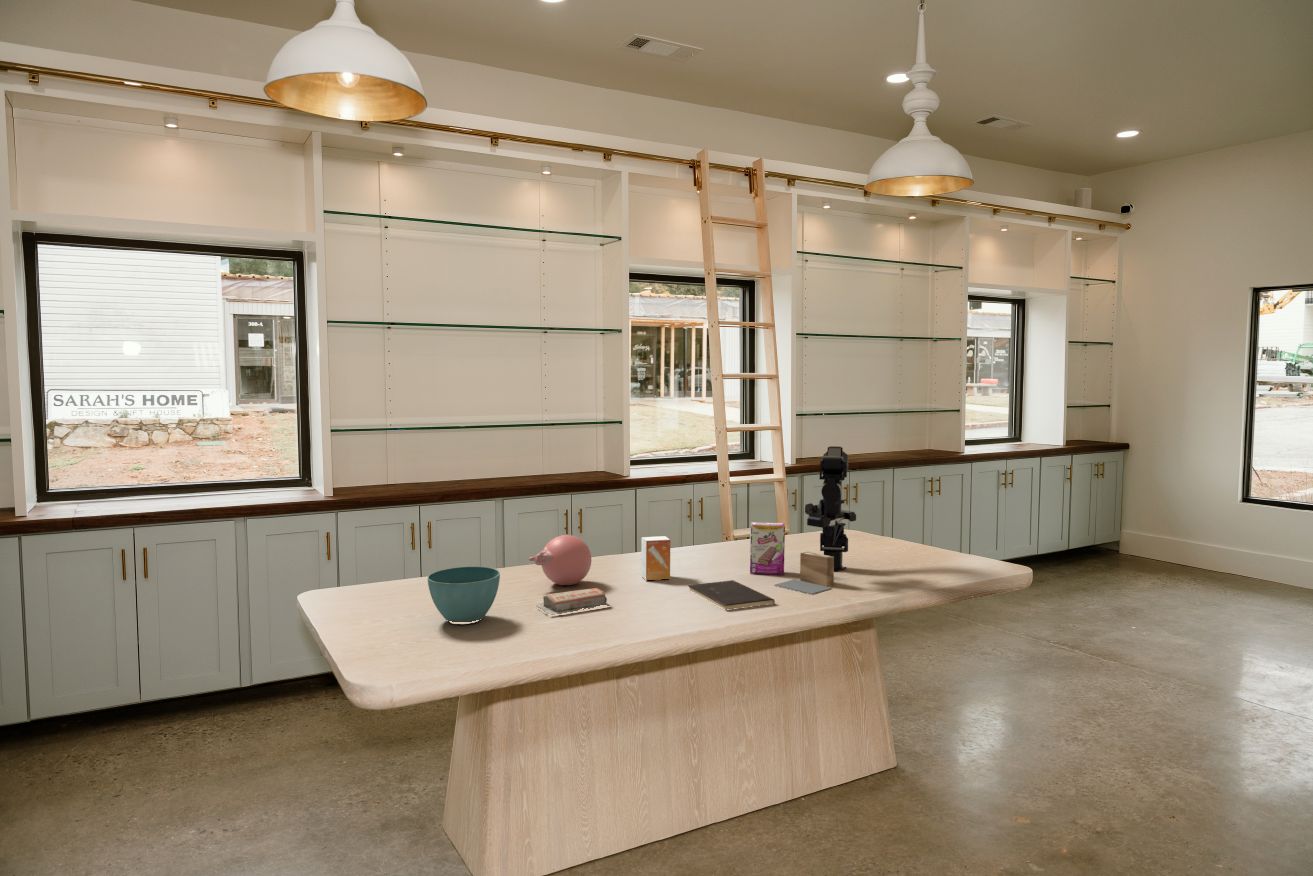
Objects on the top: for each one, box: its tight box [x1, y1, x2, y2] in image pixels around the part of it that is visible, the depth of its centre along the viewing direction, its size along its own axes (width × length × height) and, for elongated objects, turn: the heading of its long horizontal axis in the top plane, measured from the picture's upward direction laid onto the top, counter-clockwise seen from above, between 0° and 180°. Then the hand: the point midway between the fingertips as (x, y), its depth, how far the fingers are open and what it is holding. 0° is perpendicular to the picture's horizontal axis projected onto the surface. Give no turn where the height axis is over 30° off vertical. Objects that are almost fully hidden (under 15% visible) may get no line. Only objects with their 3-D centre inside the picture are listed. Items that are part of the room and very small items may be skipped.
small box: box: [640, 535, 671, 581], centre depth 246 cm, size 8×6×13 cm
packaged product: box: [536, 587, 611, 615], centre depth 213 cm, size 18×5×10 cm
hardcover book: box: [687, 579, 776, 611], centre depth 224 cm, size 16×23×2 cm
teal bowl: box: [427, 565, 501, 622], centre depth 201 cm, size 18×18×12 cm
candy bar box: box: [749, 521, 786, 576], centre depth 253 cm, size 11×5×16 cm, turn 84°
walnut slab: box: [799, 551, 835, 587], centre depth 240 cm, size 4×10×9 cm, turn 42°
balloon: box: [528, 534, 592, 586], centre depth 237 cm, size 15×20×15 cm
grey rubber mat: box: [773, 579, 833, 595], centre depth 236 cm, size 10×14×1 cm
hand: (831, 545), depth 245 cm, fingers closed
